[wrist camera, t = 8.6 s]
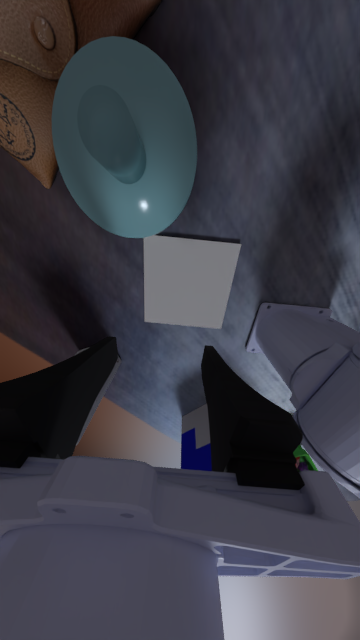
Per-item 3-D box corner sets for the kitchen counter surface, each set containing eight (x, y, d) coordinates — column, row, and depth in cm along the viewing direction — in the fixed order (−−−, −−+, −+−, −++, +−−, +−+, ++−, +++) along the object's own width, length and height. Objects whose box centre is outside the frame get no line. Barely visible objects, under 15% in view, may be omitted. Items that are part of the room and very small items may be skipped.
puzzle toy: (181, 416, 32) (180, 482, 23) (221, 395, 29) (237, 462, 20) (211, 437, 36) (220, 502, 27) (249, 420, 32) (274, 487, 23)
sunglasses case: (50, 198, 16) (-67, 126, 10) (26, 157, 18) (-91, 71, 11) (177, -20, 11) (90, -485, 4) (127, -55, 12) (6, -451, 6)
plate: (240, 244, 18) (241, 244, 17) (220, 327, 23) (220, 328, 22) (144, 234, 18) (143, 234, 17) (145, 320, 23) (144, 321, 22)
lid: (200, 48, 10) (210, -66, 6) (193, 238, 15) (196, 236, 11) (36, 52, 10) (-49, -57, 7) (81, 237, 15) (47, 236, 12)
